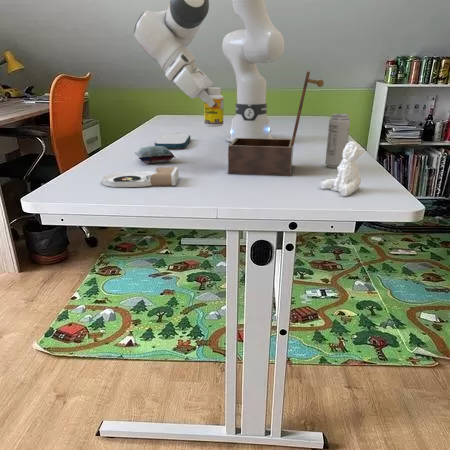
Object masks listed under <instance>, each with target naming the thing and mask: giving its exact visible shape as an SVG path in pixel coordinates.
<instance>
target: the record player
mask: <svg viewBox="0 0 450 450" xmlns="http://www.w3.org/2000/svg"><path fill="white" fill-rule="evenodd" d="M179 178H180V172H179V167H178V166H164V167H163V166H159V167H156V168H155V171H147V170H146V171H139V170H137V171H118V172H117V171H116V172H112V173H108V174H105V175H103V176H102V179H101V180H102V184H103V185H104V186H107V187H111V188H113V187H114V188H140V187H141V188H143V187H149V186H150V187H151V186H152V187H153V186H154V187H159V186H160V187H162V186H163V187H164V186H167V187H168V186H172V187H173V186H176V184H177V183H178V181H179Z"/></svg>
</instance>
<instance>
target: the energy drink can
mask: <svg viewBox="0 0 450 450" xmlns="http://www.w3.org/2000/svg"><path fill="white" fill-rule="evenodd" d="M349 116H350V114H348V113H331V117H330V118H329V120H328V129H327V130H328V131H327V142H326V152H325V162H324V163H325V164H326V167H327V168H331V169H337V167H338V166H339V165H340V163H341V161H342V160H343V156H342V154H343V149H345V146H346V144H347V143H349V136H350V128H351V127H350V126H351V120H350V117H349Z"/></svg>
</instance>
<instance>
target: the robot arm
mask: <svg viewBox="0 0 450 450" xmlns="http://www.w3.org/2000/svg"><path fill="white" fill-rule="evenodd" d="M231 4H232V5H231V6H232V11H233V13H234V15H235V16H236V17H238V18H239V20H241V21H242V23H243V26H244V28H243V29H236V30H232V31H231V32H228V33H227V34H226V35H225V36H224V37H223V40H222V44H221V45H222V46H221V47H222V48H221V49H222V54H223V55H224V58H225V59H226V60H227V61H228V62H229V63H230V65H231V68H232V70H233V73H234V76H235V83H236V103H235V108H234V109H235V116H234V117H233V118H232V119H231V129H230V137H229V136H228V137H227V138H226V142H229V143H231V142H232V141H233V140H234V139H235V138H259V139H274V137H273V135H271V133H272V130H271V129H270V127H271V120H270V117H268V116H267V112H268V104H267V81H266V78H265V77H263V76H262V74H260V72H259V69H258V65H257V64H268V63H273V62H275V61H278V60H280V58H281V57H282V56H283V53H284V51H285V39H284V36H283V34H282V32H281V31H280V30H278V29H277V28H276V27H275V25H274V24H273V22H272V20H271V18H270V16H269V14H268V11H267V6H266V1H265V0H231ZM209 10H210V0H169V4H168V6H167V9H166V10H162V11H151V10H149V9H147V10H144V11H143V12H142V13H141V14H140V15H139V17H138V19H137V21H136V23H135V25H134V28H133V36H134V39H135V40H136V41H137V43H138V45H139V46H140V47H141V48H142V49H143V51H144V52H145V53H146V54H147V55H148V56H149V57H150V58H151V59H152V60H153V61H155V62H156V63H157V64H158V65H159V67H160V69H161V70H162V71H163V72H164V74H165V78H166V79H167V80H168V81H169V82H173V83H174V84H175V85H176V86H177V87H178V89H180V90H181V91H182V92H183V93H184V94H185V95H186V96H188V97H189V98H191V99H196V98H199V99H200V100H201V101H202V102H203V103H204V102H205V103H207V104H208V105H209V107H213V106H214V105H215V101H214V100H213V99H212V98H211V97H210V96H209V95H208V94H207V88H209V87H214V86H215V84H214V82H213V81H212V80H211V79H210V78H209V76H207V74H206V73H204V72H203V70H202V69H200V68H199V67H198V66H197V64H196V62H197V58H196V56H194V54H193V53H192V52H191V51H190V50H189V49H188V46H189V45H190V44H191V43H193V41H194V39H195V38H196V35H197V33H198V31H199V29H200V27H201V25H202V23H203V21H204V20H205V19H206V17H207V16H208V13H209Z"/></svg>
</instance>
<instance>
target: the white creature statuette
mask: <svg viewBox="0 0 450 450" xmlns="http://www.w3.org/2000/svg"><path fill="white" fill-rule="evenodd" d="M365 151H366V148H362V146H361V145H360V144H359V143H357V142H356V141H353V140H350V141H349V140H348V143H347V144H346V146H345V149H343V154H342V156H343V160H342V161H341V163H340V165H339V166H338V167H337V168H336V169H337V176H336V177H334V178H331V177H330V178H326V179H325V180H322V181H321V182H320V188H321V190H331V191H335V192H338V193H340V195H341V197H349V196H351V195H352V194H353V193H355V192H356V191H357V190H358V189H360V185H361V183H362V179H361V176H360V173H359V168H360V167H359V166H358V162H357V161H356V160H358V159H360V157H361V156H362V155H363V154H364V153H365Z"/></svg>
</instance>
